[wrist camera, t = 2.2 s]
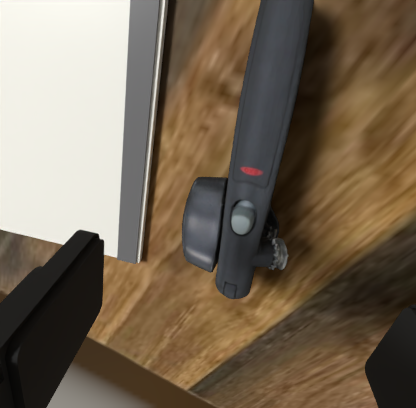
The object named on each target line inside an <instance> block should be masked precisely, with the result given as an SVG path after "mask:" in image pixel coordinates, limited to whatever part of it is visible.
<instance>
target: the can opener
mask: <svg viewBox="0 0 416 408" xmlns="http://www.w3.org/2000/svg"><path fill="white" fill-rule="evenodd" d="M313 3H314V0H261V3H260V8H259V12H258V16H257V20H256V25H255V29H254V34H253V38H252V43H251V47H250V52H249V56H248V61H247V67H246V71H245V76H244V81H243V88H242V92H241V97H240V103H239V109H238V114H237V121H236V127H235V134H234V141H233V148H232V154H231V161H230V168H229V175H228V178H220V177H198V178H197V179H196V180H195V181H194V183H193V185H192V187H191V190H190V193H189V196H188V198H187V202H186V205H185V210H184V214H183V223H182V244H183V252H184V256H185V258H186V261H188V262H190V263H192V264H193V265H195V266H197V267H199V268H201V269H204V270H206V271H208V272H213V270H214V268H215V266H216V264H217V262H218V267H217V274H216V287H217V289H218V290H219V292H220V293H222V294H223V295H225V296H226V297H227V298H230V299H239V298H243V297H245V296H247V295H248V294H249V292H250V288H251V284H252V280H253V275H254V271H255V268H256V267H268V268H269V269H270V268H271V269H272V270H274V267H276V268H278V269H280V270H283V269H284V268H285V266H286V264H287V257H288V256H289V255H288V254H287V248H286V245H285V243H284V241H283V239H281V238H277V237H278V234H279V223H278V221H277V218H276V216H275V214H274V212H273V210H272V208H271V200H272V196H273V192H274V187H275V183H276V179H277V175H278V171H279V167H280V163H281V160H282V156H283V152H284V148H285V144H286V140H287V137H288V132H289V128H290V123H291V120H292V116H293V110H294V106H295V102H296V98H297V93H298V88H299V83H300V79H301V73H302V68H303V62H304V57H305V51H306V45H307V39H308V33H309V27H310V21H311V15H312V9H313Z"/></svg>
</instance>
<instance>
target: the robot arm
mask: <svg viewBox="0 0 416 408" xmlns="http://www.w3.org/2000/svg"><path fill="white" fill-rule="evenodd" d="M103 268H104V240H103V239H100V238H99V234H98V233H94V232H89V231H85V230H78V231H76V232H75V233H74V234H73V235H72V237H71V238H70V239H69V240H68V241H67V242H66V243H65V244H64V245H63V246H62V247H61V248H60V249H59V250H58V251H57V252H56V253H55V255H54V256H53V257H52V258H51V259H50V260H49V261H48V262H47V263H46V264H45V265H44V266H43V267H41V266H39V267H37V268H35V269H34V270H32V271H31V272H30V273H29V274H28V275H27V276H26V277H25V278H24V279H23V280H22V281H21V282H20V283H19V284H18V285H17V287H16V288H15V289H14V290H13V291H12V292H11V293H10V294H9V295H8V296H7V297H6V298H5V299H4V300H3V301H2V302H1V303H0V408H46V407H47V406H48V404H49V402H50V400H51V398H52V396H53V395H54V393H55V391H56V389H57V388H58V386H59V384H60V382H61V380H62V378H63V377H64V375H65V373H66V371H67V369H68V368H69V366H70V364H71V362H72V361H73V359H74V357H75V355H76V353H77V351H78V350H79V348H80V346H81V345H82V343H83V341H84V339H85V337H86V336H87V334H88V332H89V330H90V328H91V327H92V325H93V323H94V321H95V320H96V318H97V316H98V314H99V312H100V309H101V306H102V297H103ZM365 373H366V376H367V379H368V381H369V384H370V386H371V389H372V392H373V394H374V397H375V399H376V402H377V405H378V407H379V408H416V305H411V306H409V307H408V308H405V309H403V310H402V312H401V313H400V315H399V316H398V317H397V319H396V320H395V322H394V323H393V325H392V326H391V327H390V329H389V330H388V332H387V333H386V334H385V336H384V337H383V339H382V340H381V342H380V343H379V344H378V346H377V347H376V349H375V350H374V352H373V353H372V354H371V356H370V357H369V359H368V360H367V362H366V364H365Z"/></svg>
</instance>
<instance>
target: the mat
mask: <svg viewBox="0 0 416 408" xmlns="http://www.w3.org/2000/svg"><path fill="white" fill-rule="evenodd" d="M167 9H168V0H0V229H1V230H5V231H9V232H13V233H18V234H22V235H26V236H30V237H34V238H38V239H42V240H46V241H51V242H55V243H59V244H63V245H64V244H65V243H66V242H67V241H68V240H69V239H70V238H71V237H72V235H73V234H74V233H75V232H76V231H78V230H85V231H89V232H94V233H98V234H99V238H100V239H103V240H104V255H108V256H113V257H117V260H122V261H126V262H130V263H134V264H136V262H137V263H140V261H141V259H142V251H143V241H144V232H145V222H146V212H147V203H148V193H149V183H150V174H151V164H152V154H153V145H154V135H155V125H156V115H157V106H158V96H159V86H160V77H161V67H162V57H163V48H164V38H165V28H166V19H167Z"/></svg>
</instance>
